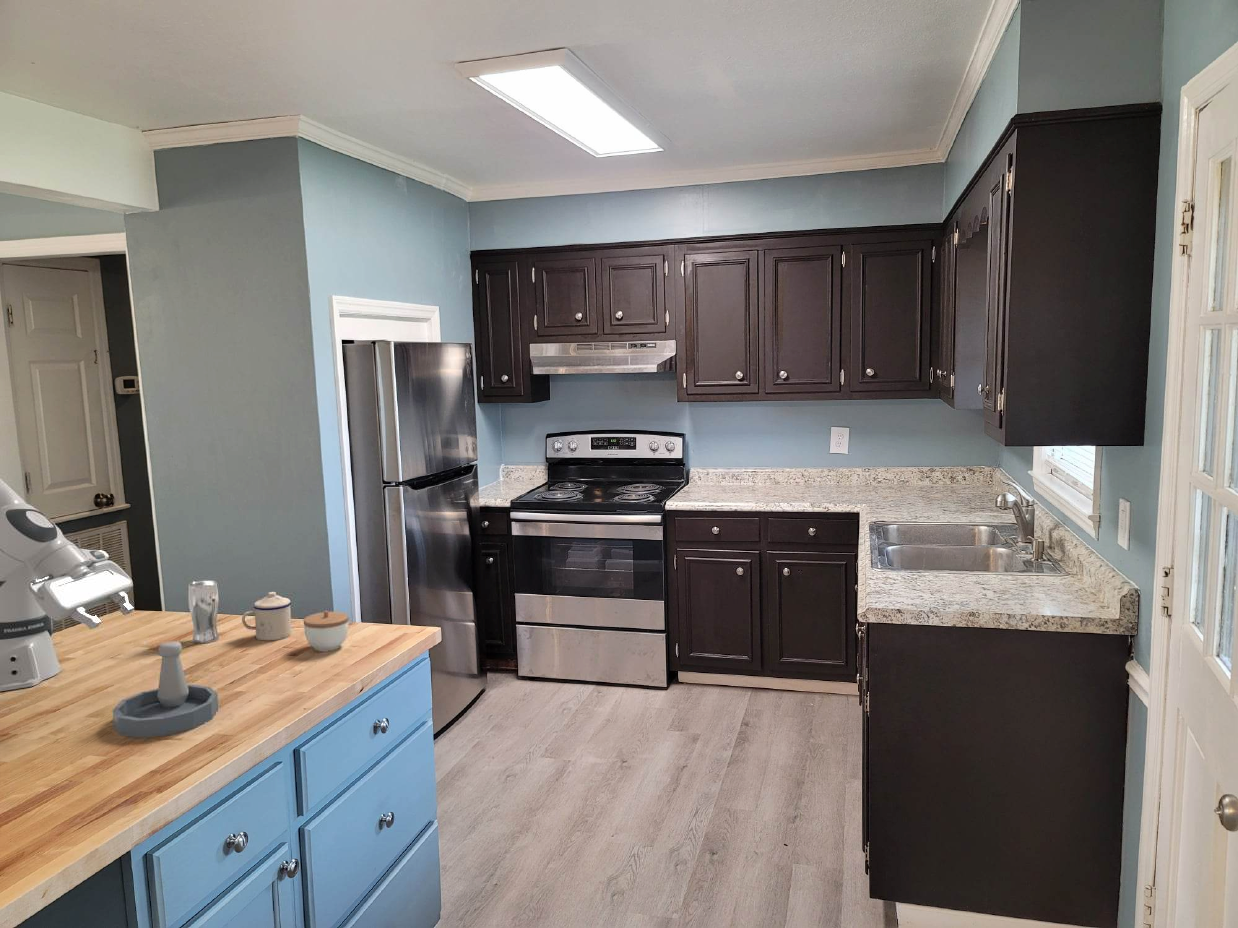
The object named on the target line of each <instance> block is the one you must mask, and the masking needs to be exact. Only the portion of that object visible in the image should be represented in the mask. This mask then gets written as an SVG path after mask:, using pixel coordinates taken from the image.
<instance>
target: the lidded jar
mask: <svg viewBox="0 0 1238 928" xmlns="http://www.w3.org/2000/svg"><path fill="white" fill-rule="evenodd" d="M349 619H350V618H349V614H347V613H345V612H342V611H328V610H324V611H322V612H317V613H313V614H309V615H308V616H306V617H305V618H303V627H304V628H303V629H304V635H305V639H306V641H307V643H308V644H309V645H310V646H311V647H312V648H314V651H316V650H319V651H318V652H329V651H328V650H332V651H335V650H338V649H339V648H340V647H341V646H342V644H343V643H344V642H345V641H346V638H347V636H348V632H349ZM334 649H335V650H334Z"/></svg>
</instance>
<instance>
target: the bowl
mask: <svg viewBox="0 0 1238 928" xmlns="http://www.w3.org/2000/svg"><path fill="white" fill-rule="evenodd" d="M187 686H188V690H189V694H188V696H187V699H186V701H185V703H184V704H182V705H181V706H178V707H172V708H166V707H163V706H162V705H161V703H160V701H159V699H158V696H157V694H158V688H154V689H149V690H145V691H141V692H139V693H136V694H132V696H129V697H127V698H125V699H123V700H121V701H120V702H118V704H117V705H116V706H115V707H114V708H113V709H112V718H113V728H114V730H115V731H116V732H117V734H118V735H119V736H122V737H123V736H124V737H128V738H136V739H146V738H147V739H149V738H160V737H167V736H172V735H175V734H179V733H183V732H186V731H190V730H194V729H196V728H198V727H200V726H202V725H204V724H206V723H208V722H210V721H212V720H213V719H214V717H215V716H216V714H217V713H216V712H218V711H219V697H218V692H216V691H215V690H214V689H213V688H212V687H211V686H205V685H199V684H187ZM214 715H215V716H214ZM211 719H212V720H211ZM209 720H210V721H209ZM205 722H206V723H205Z"/></svg>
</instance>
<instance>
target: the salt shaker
mask: <svg viewBox="0 0 1238 928" xmlns="http://www.w3.org/2000/svg"><path fill="white" fill-rule="evenodd" d="M182 651H183V646H182V643H181V642H178V641H174V640H173V641H167V642H164V643H161V644H159V646H158V656H159V657H161V665H160V670H159V671H160V674H159V681H158V694H157V696H158V699H159V701H160V703H161V705H162V706H163V707H166V708H172V707H178V706H181V705H182V704H184V703H185V701H186V699H187V696H188V694H189V690H188V686H187V685H188V684H187V679H186V675H185V672H184V668H183V665H182V661H181V656H180V654H182Z"/></svg>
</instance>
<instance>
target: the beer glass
mask: <svg viewBox="0 0 1238 928" xmlns="http://www.w3.org/2000/svg"><path fill="white" fill-rule="evenodd" d="M187 593H188V600H187V601H188V608H189V609H188V610H189V612H190V617H191V620H192V625H193V635H192V643H194V644H208V643H213V642H216V641H218V640H219V637H220V635H219V632H218V629H217V618H218V612H219V591H218V581H216V580H212V579H211V580H210V579H209V580H208V579H205V580H198V581H193V582H190V583H188V590H187Z"/></svg>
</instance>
